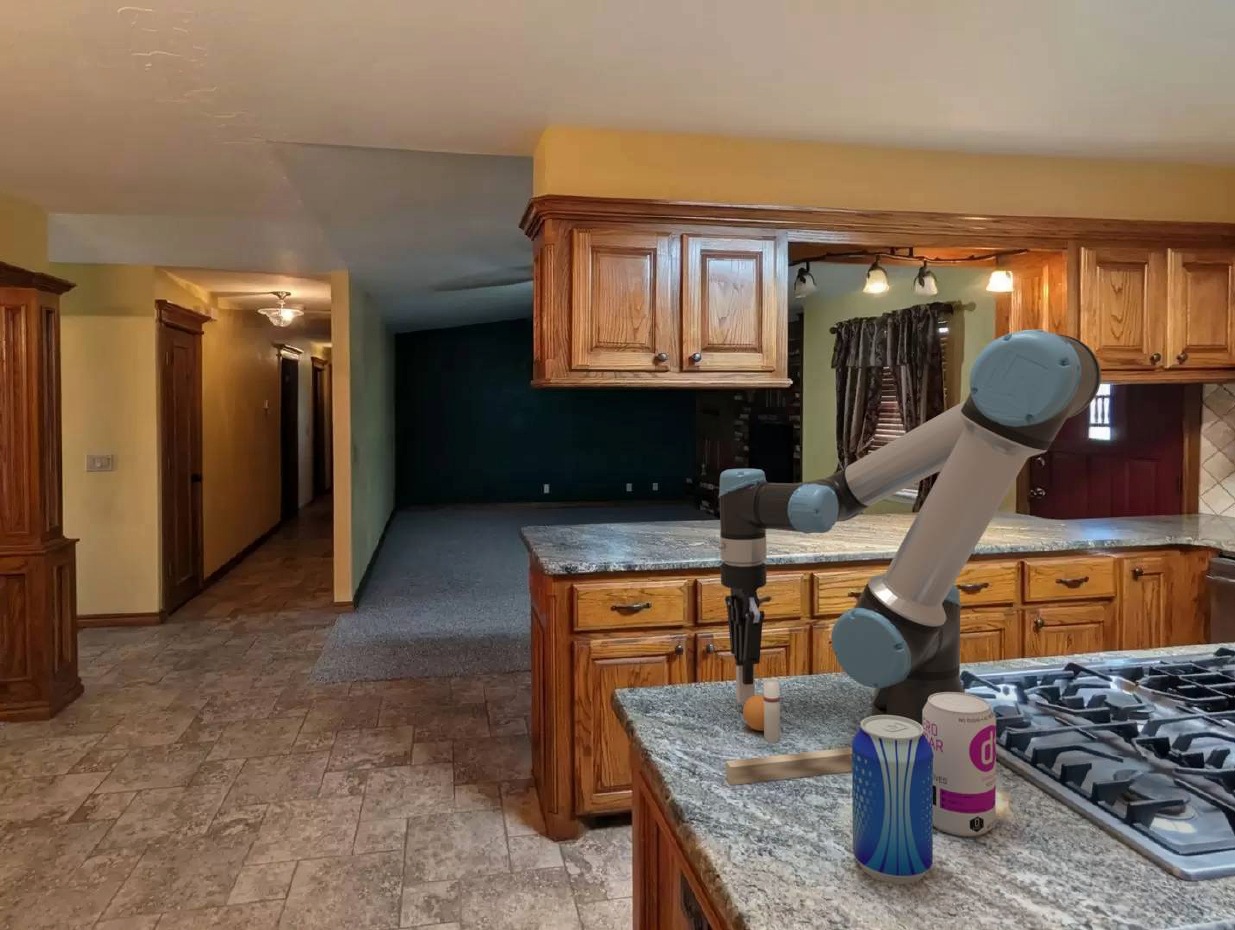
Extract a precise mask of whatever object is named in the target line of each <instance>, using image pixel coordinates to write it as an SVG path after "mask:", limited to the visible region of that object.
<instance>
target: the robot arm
mask: <svg viewBox="0 0 1235 930" xmlns="http://www.w3.org/2000/svg"><path fill="white" fill-rule="evenodd" d="M1101 381H1102V370H1101V364H1100V362H1099V360H1098V357H1097V356H1096V354H1095V352H1094V351H1093V350H1092V349H1091V348H1090V347H1089V346H1088V345H1087V344H1085V343H1084V342H1083V341H1081V340H1079V339H1077V338H1076V337H1072V336H1068V335H1064V334H1056V333H1052V332H1050V331H1049V332H1048V331H1045V330H1043V329H1025V330H1018V331H1015V332H1011V333H1007V334H1006V335H1003V336H1000V337H998V338H996V339H994V340H993V341H992V342H990V343H989V344H987V345H986V346H985V348H983V349H982V351H981V352H980V353H979V355H978V356H977V358H976V359H975V361H974V363H973V365H972V368H971V371H970V375H969V381H968V383H969V390H970V392H969V393H968V396H967V398H966V399H965V400H963V401H962V402H960V403H958V404H956V405H955V406H953V407H951V408H949V409H948V410H945V411H943V412H942V413H940V414H938V415H937V416H935V417H933V418H931V419H929V420H928V421H926V422H924V423H922V424H921V425H919V426H917V427H915V428H913V429H912V430H909V431H908V432H907V433H904V434H903V435H901V436H899V437H897V438H896V439H894V440H892V441H890V442H889V443H887V444H885V445H883V446H881V447H879V448H878V449H875V450H874V451H873V452H871V453H869V454H867V455H865V456H863V457H862V458H860V459H858V460H856V461H854V462H853V463H851V464H849V465H847V466H846V467H844V468H842V469H840V470H838V471H836V472H834V473H832V474H831V475H829V476H827V477H825V478H820V479H815V480H809V481H802V482H797V483H796V482H793V483H792V482H791V483H787V482H785V483H783V482H778V483H777V482H769V481H767V479H766V474H765V471H763V469H757V468H732V469H731V468H730V469H726V470H724V471H722V472H721V473H720V476H719V489H718V492H719V494H718V504H719V505H718V507H719V518H720V519H719V520H720V522H719V523H720V531H719V532H720V536H719V537H720V542H719V543H718V544H717V549H718V550H720V560H722V561H723V562H722V563H721V564H720V583H721V586H723V587H725V588H728V589H730V591H729V592H730V595H725V598H724V601H725V605H726V611H727V621H728V630H729V631H728V632H729V633H728V634H729V643H730V653H731V654H732V655H733V658H734V661H735V681H736V682H735V685H736V686H735V687H736V691H735V692H736V693H735V695H736V701H737V702H738V704H745V703H746V701H747V700H748V699H749V698H750V697H752V696H754V695H756V693H755V692H756V691H755V689H756V688H755V687H756V686H755V681H756V680H755V665H758V664H760V663H761V662H760V661H761V647H762V635H763V623H764V620H765V615H766V614H765V612H764V610H759V608H760V599H759V596H758V591H757V590H759V589H760V588H763V587H765V586H766V585H767V582H768V581H767V565H766V563H765V561H766V560H767V554H768V553H767V534H766V533H767V530H778V531H788V532H789V531H790V532H794V533H795V532H796V533H797V532H798V533H803V534H807V535H809V534H825V533H828V532H829V531H831V530H832V528H833V526H835V525H836V523H838V522H846V521H849V520H851V519H853V518H855V517H857V516H859V515H860V514H862V513H863V512H864V510H866V509H867V508H869V507H871V506H873V505H876V504H877V503H878V502H881V501H883V500H885V499H887V498H888V497H891V496H893V495H895V494H896V493H898V492H901V491H902V490H905V489H907V488H908V487H910V486H912V485H915V484H916V483H918V482H920V481H923V480H924V479H926V478H928V477H930V476H933V475H934V474H937V473H938V472H940V473H939V474H938V476H937V477H936V480H935V481H934V483H933V486H932V488H931V489H930V491H929V492H928V494H927V497H926V498H925V500H924V502H923V503H922V505H921V507H920V509H919V511H918V513H917V514H916V516H915V518H914V520H913V522H912V524H911V525H910V527H909V529H908V531H907V533H906V534H905V536H904V538H903V540H902V542H901V544H900V545H899V547H898V550H897V551H896V553H895V554H894V556H893V558H892V560H891V561H890V564H889V566H888V567H887V569H886V571H885V572H884V573H881V574H875V575H872V576H871V577H870V578H869V580H867V581H868V582H867V583H866V585H865V586H864V589H863V591H862V592H861V594H860V596H859V598H858V600H857V602H856V604H855V605H854V607H852V608H851V609H848V610H846V611H845V612H843V613H842V614H841V616H839V618H838V619H837V620H836V621H835V623H834V624H833V627H832V630H831V637H830V639H831V640H830V641H831V648H832V651H833V653H834V655H835V660H836V662H837V663H838V664H839V666H840V667H841V669H842V670H843V671H844V672H845V674H847V676H849V677H850V678H851V679H852V680H853V681H855V682H857V683H859V684H860V685H862V686H866V687H868V688H874V689H875V691H874V694H873V697H872V701H871V703H870V704H871V705H870V706H871V709H870V714H871V715H870V716H876V715H893V716H900V717H905V718H908V719H911V720H914V721H916V722H918V723H919V724H920V725H922V710H923V708H924V706H925V705H926V703H927V701H928V698H929V696H930V695H933V694H935V693H941V692H958V693H966V692H965V689H964V686H963V683H962V681H961V676H960V675H961V673H960V672H961V671H960V670H961V668H960V666H961V665H960V664H961V608H962V603H961V599H960V589H959V588H958V586H956V585H955V583H956V581H957V579H958V578H959V575H960V574H961V572H962V570H963V569H964V567H965V565H966V564H967V562H968V560H969V558H970V557H971V555H972V553H973V552H974V550H975V549H976V547H977V545H978V543H979V542H980V540H981V538H982V537H983V534H984V533H985V532H986V530H987V528H988V526H989V525H990V523H991V522H992V520H993V518H994V516H995V514H996V513H997V511H998V509H999V508H1000V506H1001V505H1002V502H1003V500H1004V499H1005V498H1006V496H1007V494H1008V493H1009V491H1010V489H1011V487H1012V486H1013V484H1014V482H1015V480H1016V479H1017V477H1018V476H1019V474H1020V472H1021V470H1022V468H1023V467H1024V465H1025V464H1026V462H1027V460H1028V459H1029V458H1030V457H1034V456H1037V455H1040V454H1045V453H1046V452H1047V451H1048V450H1049V448H1050V447H1051V445H1052V443H1053V441H1054V440H1055V438H1056V437H1057V435H1058V433H1059V431H1060V430H1061V428H1062V426H1063V425H1064V423H1065V422H1066V420H1067V419H1069V418H1072V417H1074V416H1076V415H1078V414H1080V413H1081V412H1083V411H1084V410H1086V408H1088V406H1090V405H1091V404H1092V402H1093V400H1095V398H1096V396H1097V395H1098V392H1099V389H1100V386H1101V383H1102V382H1101Z"/></svg>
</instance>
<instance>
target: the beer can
mask: <svg viewBox="0 0 1235 930" xmlns="http://www.w3.org/2000/svg"><path fill="white" fill-rule="evenodd" d="M923 733H924V729H923V727H922V725H920V724H919V723H918V722H916V721H914V720H911V719H908V718H905V717H900V716H893V715H876V716H871V715H870V716H868V717H866V718H864V719H862V720H861V722H860V728H859V730H858V731H857V733H856V734H855V736H854V737H853V740H852V744H851V748H852V771H851V774H852V775H851V777H852V779H851V780H852V781H851V785H852V786H851V787H852V795H851V797H852V802H851V803H852V805H851V806H852V808H851V809H852V854H853V857H854V858H855V860H857V862H858V863H859V865H860V867H861V869H862V870H863V871H864V873H866V874H867V875H869V876H870V877H872V879H873V878H874V879H876V880H878V881H881V882H885V883H888V884H895V885H908V884H913V883H916V882H920V880H922V879H923V878H924V877H925V874H926V872H928V871H929V870H930V869H931V867H932V866H933V861H934V859H933V857H934V856H933V855H934V853H933V848H934V847H933V846H934V845H933V844H934V841H933V837H934V836H933V832H934V830H933V829H934V828H933V827H934V826H933V750H932V747H931V745H930V744H929V742H928V740H927V739H926V737H925V735H924V734H923Z"/></svg>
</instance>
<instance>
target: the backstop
mask: <svg viewBox="0 0 1235 930" xmlns="http://www.w3.org/2000/svg"><path fill="white" fill-rule="evenodd" d="M725 772H726V773H725V778H726V780H727V782H728V784H729V785H730V786H736V785H744V784H752V783H762V782H769V781H778V780H788V779H789V780H790V779H797V778H805V777H815V776H821V775H822V776H823V775H831V774H839V773H840V774H841V773H849V772H852V747H844V748H842V747H841V748H835V749H825V750H816V751H807V752H799V753H788V754H781V755H780V754H779V755H770V756H762V757H761V756H760V757H753V758H744V759H733V760H726V761H725Z"/></svg>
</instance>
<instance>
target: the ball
mask: <svg viewBox="0 0 1235 930" xmlns="http://www.w3.org/2000/svg"><path fill="white" fill-rule="evenodd" d="M763 695H764V694H755V695H754V696H752V697H750V698H749V699H748V700H747V701H746V703H744V705H743V709H742V715H743V719H744V721H745V723H746V724H747V726H749V727H750V728H751V729H753V730H754V731H759V732H764V700H763Z"/></svg>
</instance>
